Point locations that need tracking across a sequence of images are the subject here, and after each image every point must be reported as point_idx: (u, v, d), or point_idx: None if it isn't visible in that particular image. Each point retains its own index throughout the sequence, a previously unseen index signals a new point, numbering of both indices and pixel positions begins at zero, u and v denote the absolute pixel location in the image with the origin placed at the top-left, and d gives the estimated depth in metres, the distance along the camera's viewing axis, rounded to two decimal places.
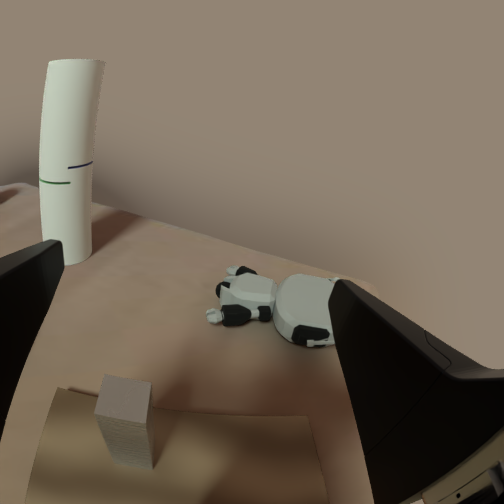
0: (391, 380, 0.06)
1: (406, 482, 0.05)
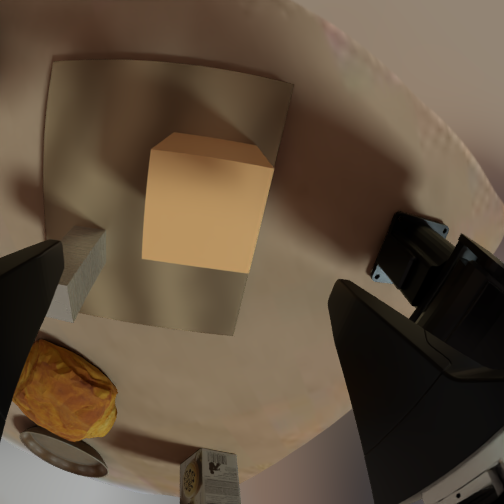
0: (391, 380, 0.06)
1: (406, 482, 0.05)
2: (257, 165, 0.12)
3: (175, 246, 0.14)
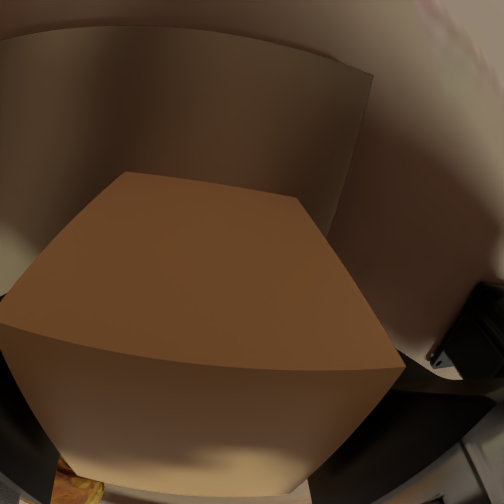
0: None
1: (341, 500, 0.05)
2: (360, 366, 0.03)
3: (135, 478, 0.05)
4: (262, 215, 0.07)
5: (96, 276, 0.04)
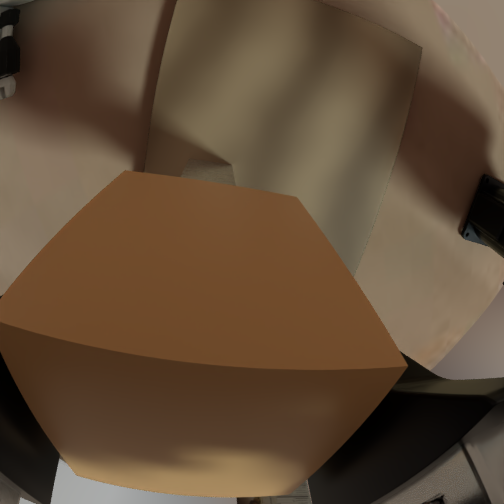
0: None
1: (341, 500, 0.05)
2: (362, 366, 0.03)
3: (135, 479, 0.05)
4: (262, 214, 0.07)
5: (95, 275, 0.04)
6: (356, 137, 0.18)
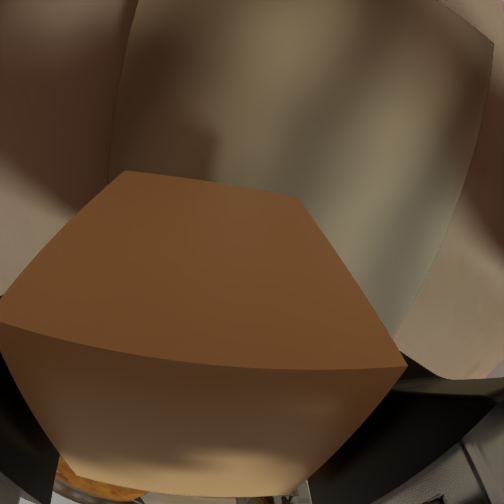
0: None
1: (341, 500, 0.05)
2: (362, 365, 0.03)
3: (135, 479, 0.05)
4: (263, 214, 0.07)
5: (96, 275, 0.04)
6: (419, 161, 0.12)
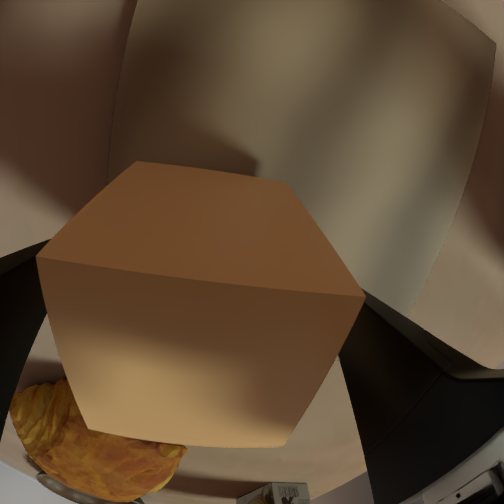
0: (391, 380, 0.06)
1: (406, 482, 0.05)
2: (325, 292, 0.05)
3: (142, 424, 0.06)
4: (254, 193, 0.08)
5: (122, 229, 0.05)
6: (421, 162, 0.11)
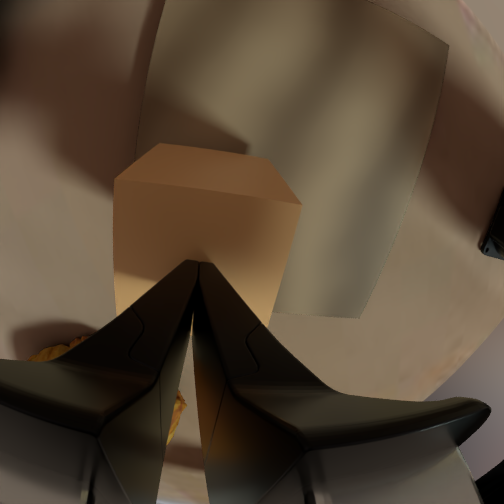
0: (207, 381, 0.06)
1: None
2: (277, 200, 0.08)
3: None
4: (243, 162, 0.12)
5: (161, 171, 0.09)
6: (378, 145, 0.15)
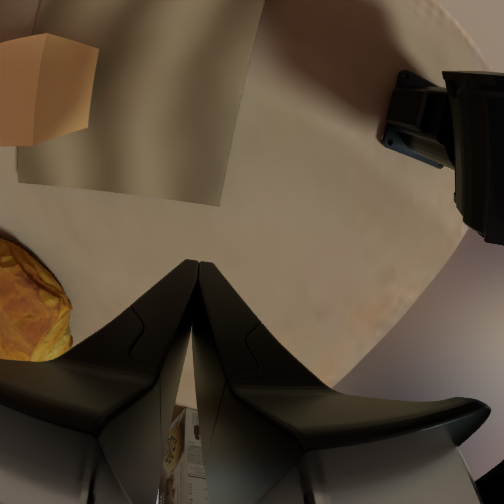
0: (207, 381, 0.06)
1: None
2: (35, 35, 0.08)
3: None
4: None
5: None
6: (202, 25, 0.15)
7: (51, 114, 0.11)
